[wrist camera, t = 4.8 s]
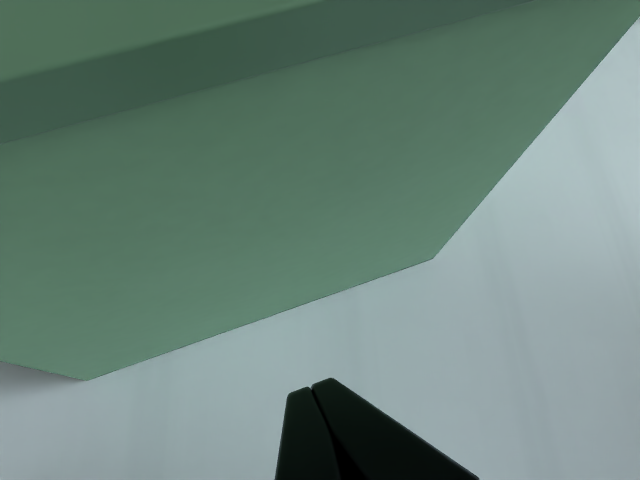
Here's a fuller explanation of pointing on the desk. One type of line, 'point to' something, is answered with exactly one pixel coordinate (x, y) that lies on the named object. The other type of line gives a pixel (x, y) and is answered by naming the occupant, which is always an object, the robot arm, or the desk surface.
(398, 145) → the storage box
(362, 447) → the robot arm
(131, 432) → the desk surface
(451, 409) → the desk surface
